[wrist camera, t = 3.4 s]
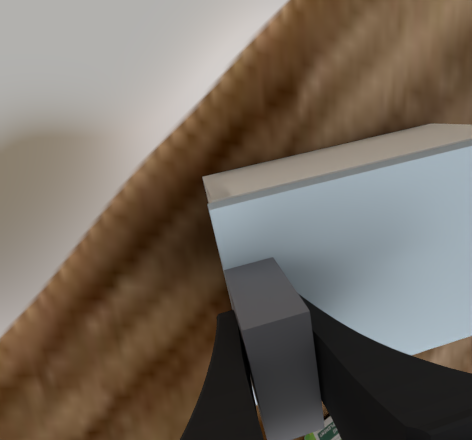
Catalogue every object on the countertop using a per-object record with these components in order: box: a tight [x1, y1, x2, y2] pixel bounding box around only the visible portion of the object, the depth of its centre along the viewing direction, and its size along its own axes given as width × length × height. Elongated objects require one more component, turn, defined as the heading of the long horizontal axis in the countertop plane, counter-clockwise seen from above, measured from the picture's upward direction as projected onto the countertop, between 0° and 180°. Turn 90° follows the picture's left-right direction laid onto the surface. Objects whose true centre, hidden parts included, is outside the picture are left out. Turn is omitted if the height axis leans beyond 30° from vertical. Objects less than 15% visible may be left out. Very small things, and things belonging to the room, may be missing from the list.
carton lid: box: [207, 140, 472, 440], centre depth 12 cm, size 14×10×4 cm
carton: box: [202, 124, 472, 204], centre depth 17 cm, size 14×10×5 cm
